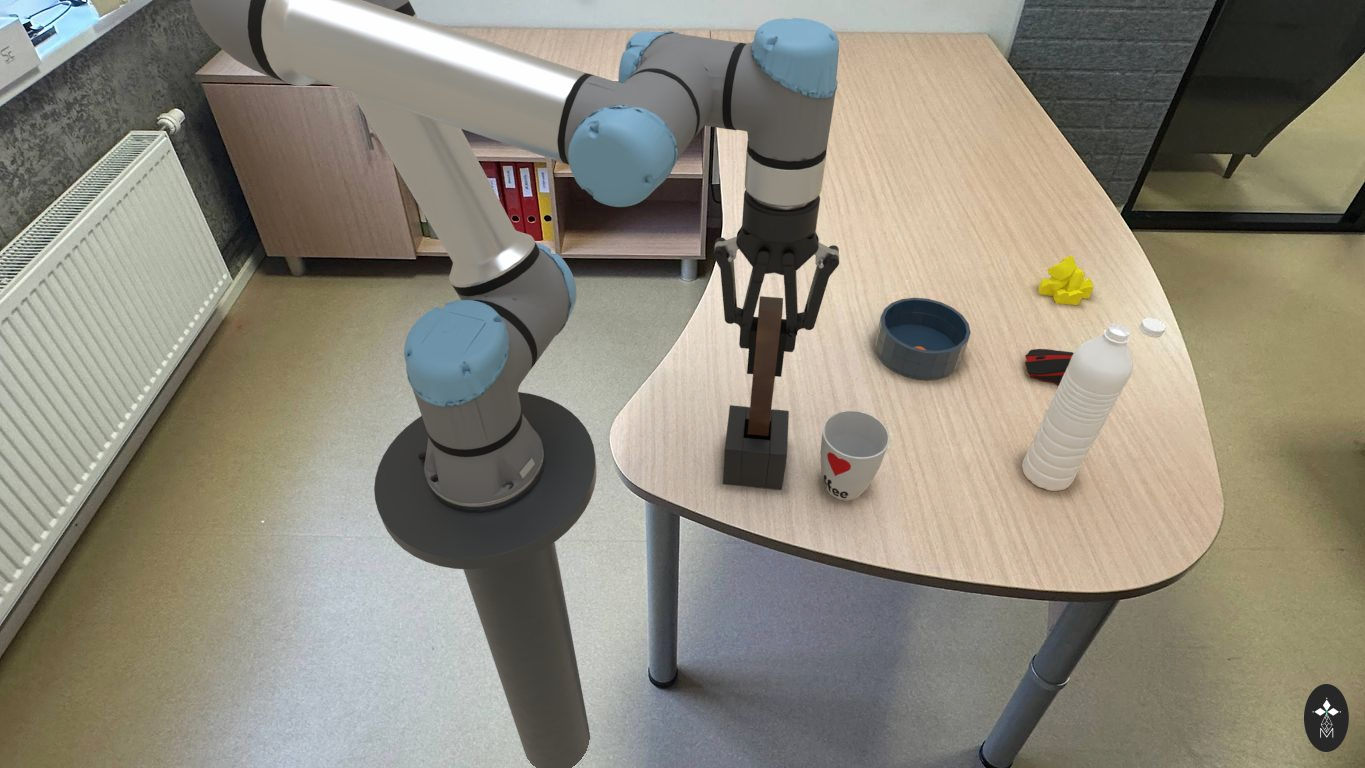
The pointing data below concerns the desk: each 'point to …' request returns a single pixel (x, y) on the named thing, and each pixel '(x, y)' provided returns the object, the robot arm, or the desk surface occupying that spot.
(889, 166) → the desk surface
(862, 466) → the cup
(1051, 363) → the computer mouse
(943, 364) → the bowl
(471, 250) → the robot arm
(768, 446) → the holder
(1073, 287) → the crumpled paper
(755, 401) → the stick
